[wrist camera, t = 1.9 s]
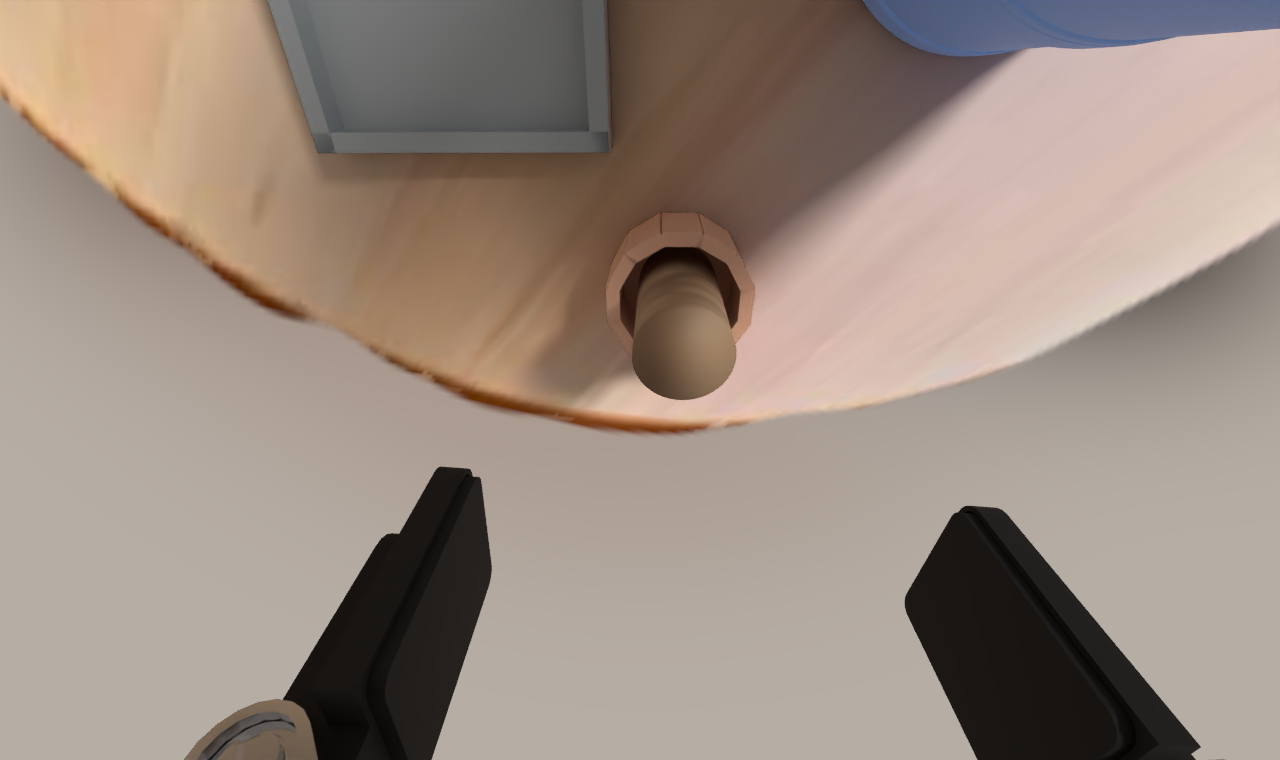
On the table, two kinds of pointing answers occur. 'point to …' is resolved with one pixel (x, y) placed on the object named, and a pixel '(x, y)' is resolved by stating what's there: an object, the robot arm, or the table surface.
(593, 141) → the slate tray
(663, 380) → the walnut cylinder
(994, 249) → the table surface
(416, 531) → the robot arm
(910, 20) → the water jug
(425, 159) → the table surface
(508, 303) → the table surface
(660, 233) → the terracotta cup
